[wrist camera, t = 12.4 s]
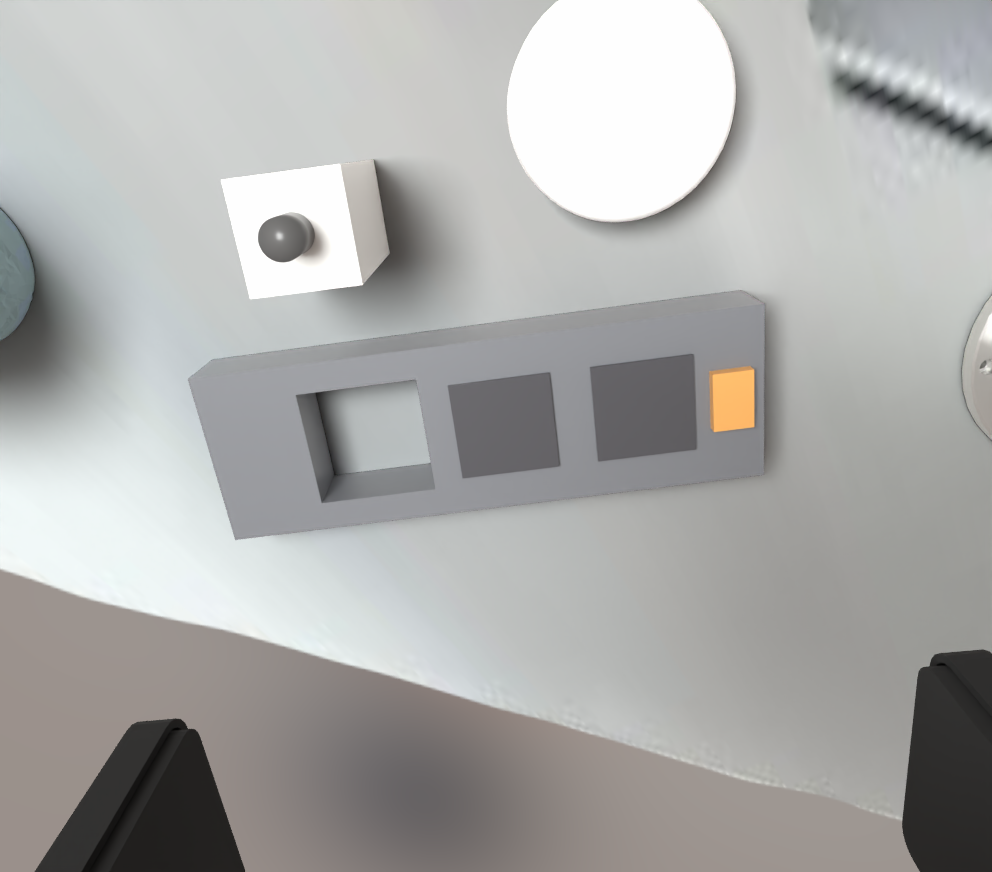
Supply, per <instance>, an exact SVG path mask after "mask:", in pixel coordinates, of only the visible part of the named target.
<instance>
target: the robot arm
mask: <svg viewBox="0 0 992 872" xmlns="http://www.w3.org/2000/svg"><path fill="white" fill-rule="evenodd" d="M962 381H963V392H964V396H965V399H966V403H967V407H968V409H969V411H970V413H971V415H972V417H973V418H974V420H975V422H976V424H977V425H978V426H979V427H980V428H981V429H982V430H983V432H984V433H985V434H986V435H987V436H988V437H989V438H990V439H992V296H991V297H990V298H989V300H988V301H987V302H986V303H985V305H984V307H983V309H982V310H981V312H980V314H979V316H978V318H977V320H976V321H975V323H974V325H973V327H972V330H971V333H970V336H969V339H968V342H967V345H966V347H965V353H964V360H963V366H962ZM902 828H903V834H904V838H905V842H906V845H907V848H908V850H909V853H910V855H911V857H912V858H913V860H914V862H915V864H916V865H917V867H918V869H919V871H920V872H992V653H991V652H989V651H986V650H974V651H962V652H950V653H939V654H936V655H934V656H933V658H932V659H931V663H930V666H929V667H923V668H921V669H920V671H919V673H918V679H917V689H916V698H915V707H914V717H913V726H912V736H911V745H910V754H909V764H908V773H907V783H906V792H905V801H904V811H903V820H902ZM35 872H245V869H244V866H243V863H242V860H241V857H240V854H239V851H238V848H237V845H236V842H235V839H234V836H233V833H232V830H231V827H230V824H229V822H228V818H227V815H226V812H225V809H224V807H223V804H222V801H221V798H220V795H219V792H218V789H217V786H216V783H215V780H214V777H213V774H212V771H211V768H210V765H209V762H208V759H207V756H206V753H205V750H204V747H203V745H202V741H201V738H200V736H199V734H198V732H197V731H196V730H195V729H188V728H187V726H186V724H185V723H184V722H183V721H182V720H181V719H167V720H156V721H143V722H137V723H135V724H133V725H131V727H130V728H129V729H128V730H127V731H126V733H125V734H124V736H123V737H122V739H121V740H120V742H119V743H118V745H117V747H116V748H115V749H114V751H113V753H112V754H111V756H110V757H109V759H108V760H107V762H106V763H105V765H104V766H103V768H102V769H101V771H100V773H99V774H98V776H97V777H96V779H95V780H94V782H93V783H92V785H91V786H90V788H89V789H88V791H87V792H86V794H85V795H84V797H83V799H82V800H81V802H80V803H79V805H78V806H77V808H76V809H75V811H74V812H73V814H72V815H71V817H70V818H69V820H68V822H67V823H66V825H65V826H64V828H63V829H62V831H61V832H60V834H59V835H58V837H57V838H56V840H55V841H54V843H53V845H52V846H51V848H50V849H49V851H48V852H47V854H46V855H45V857H44V858H43V860H42V861H41V863H40V864H39V866H38V868H37V869H36V871H35Z"/></svg>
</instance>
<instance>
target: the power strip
mask: <svg viewBox="0 0 992 872" xmlns="http://www.w3.org/2000/svg"><path fill="white" fill-rule="evenodd" d="M764 356H765V304H764V303H763V302H761V301H759V300H757V299H756V298H754V297H752V296H750V295H749V294H747V293H745V292H743V291H742V290H738V291H730V292H723V293H715V294H707V295H700V296H692V297H685V298H677V299H669V300H662V301H654V302H646V303H639V304H631V305H624V306H616V307H608V308H601V309H593V310H586V311H578V312H570V313H563V314H555V315H548V316H540V317H532V318H525V319H517V320H510V321H502V322H494V323H487V324H479V325H472V326H464V327H456V328H449V329H441V330H434V331H426V332H418V333H411V334H403V335H395V336H388V337H380V338H373V339H365V340H357V341H350V342H342V343H335V344H327V345H319V346H312V347H304V348H297V349H289V350H281V351H274V352H266V353H259V354H251V355H243V356H236V357H228V358H221V359H213V360H211V361H210V362H209V363H207V364H206V365H205V366H204V367H202V368H201V369H200V370H199V371H197V372H196V373H195V374H194V375H192V376H191V377H190V378H188V381H189V385H190V388H191V392H192V395H193V398H194V402H195V405H196V409H197V412H198V415H199V419H200V422H201V425H202V429H203V432H204V436H205V439H206V442H207V446H208V449H209V452H210V456H211V459H212V463H213V466H214V469H215V473H216V476H217V480H218V483H219V486H220V490H221V493H222V496H223V500H224V503H225V507H226V510H227V513H228V517H229V520H230V523H231V527H232V530H233V534H234V537H235V540H238V539H246V538H255V537H263V536H271V535H279V534H287V533H295V532H303V531H312V530H320V529H328V528H336V527H344V526H352V525H360V524H369V523H377V522H385V521H393V520H401V519H409V518H417V517H425V516H434V515H442V514H450V513H458V512H466V511H474V510H482V509H491V508H499V507H507V506H515V505H523V504H531V503H539V502H548V501H556V500H564V499H572V498H580V497H588V496H596V495H604V494H613V493H621V492H629V491H637V490H645V489H653V488H661V487H670V486H678V485H686V484H694V483H702V482H710V481H718V480H727V479H735V478H743V477H751V476H759V475H764ZM408 380H416V382H417V388H418V394H419V399H420V405H421V411H422V416H423V422H424V427H425V433H426V439H427V444H428V450H429V456H430V461H431V463H429V464H421V465H413V466H405V467H397V468H389V469H381V470H373V471H365V472H357V473H349V474H341V475H334V471H333V467H332V463H331V458H330V454H329V450H328V445H327V441H326V437H325V433H324V428H323V424H322V420H321V415H320V411H319V407H318V402H317V398H316V394H315V392H323V391H331V390H338V389H346V388H354V387H362V386H369V385H377V384H385V383H392V382H400V381H408Z"/></svg>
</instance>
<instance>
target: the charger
mask: <svg viewBox="0 0 992 872" xmlns="http://www.w3.org/2000/svg"><path fill="white" fill-rule="evenodd" d="M221 182H222V186H223V190H224V194H225V198H226V203H227V207H228V211H229V215H230V219H231V223H232V227H233V231H234V235H235V239H236V243H237V247H238V251H239V255H240V260H241V264H242V268H243V272H244V276H245V280H246V284H247V288H248V292H249V296H250V299H256V298H264V297H271V296H279V295H287V294H295V293H303V292H311V291H319V290H327V289H335V288H343V287H350V286H358V285H363V284H364V283H365V282H366V280H367V279H368V278H369V277H370V276H371V275H372V273H373V272H374V271H375V270H376V269H377V268H378V266H379V265H380V264H381V263H382V262H383V261H384V260H385V258H386V257H387V256H388V255H389V254H390V252H389V246H388V240H387V235H386V229H385V223H384V217H383V211H382V205H381V200H380V194H379V188H378V182H377V176H376V171H375V165H374V159H372V160H364V161H357V162H349V163H342V164H334V165H326V166H319V167H311V168H304V169H296V170H288V171H281V172H274V173H266V174H259V175H252V176H244V177H237V178H230V179H223V180H221Z"/></svg>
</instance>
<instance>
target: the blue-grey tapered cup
mask: <svg viewBox="0 0 992 872" xmlns="http://www.w3.org/2000/svg"><path fill="white" fill-rule="evenodd" d="M34 285H35V276H34V268H33V264H32V259H31V256H30V254H29V251H28V248H27V246H26V244H25V242H24V239H23V237H22V236H21V234H20V232H19V231H18V229H17V227H16V226H15V225H14V224H13V222H12V221H11V220H10V219H9V217H8V216H7V215H6V214H5V213H4V212H3V211H2V210H1V209H0V340H2V339H4V338H5V337H7V336H9V335H10V334H11V333H12V332H13V331H14V330H15V329H16V328H17V327H18V325H19V324H20V323H21V322H22V320H23V319H24V317H25V315H26V313H27V311H28V309H29V306H30V302H31V300H32V299H33V296H32V293H33V292H34Z"/></svg>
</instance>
